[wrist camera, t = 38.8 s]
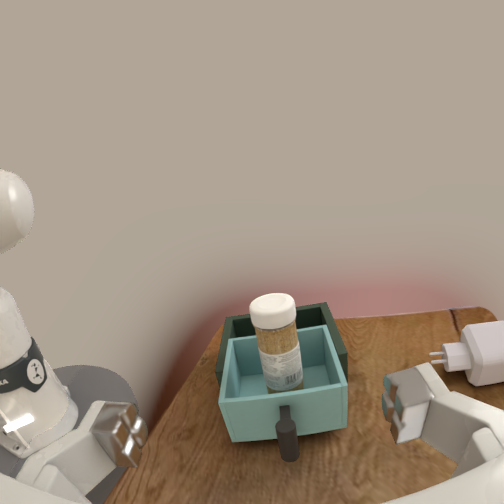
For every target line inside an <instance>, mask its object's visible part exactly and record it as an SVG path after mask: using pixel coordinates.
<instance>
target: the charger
mask: <svg viewBox="0 0 504 504" xmlns="http://www.w3.org/2000/svg"><path fill="white" fill-rule="evenodd" d="M437 355H442V360H433V361H431V364H438V363H443V364H444V368H445V370H446V371H447V372H452V371H460V370H465V373H466V376H467V379H468V381H469V382H470V383H472V384H473V385H475V386H482V385H488V384H494V383H499V382H504V320H503V321H495V322H488V323H480V324H471V325H466V326H465V328H464V329H463V330H462V332H461V338H460V342H458V343H448V344H442V345H441V352H433V353H429V356H437Z"/></svg>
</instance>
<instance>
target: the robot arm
mask: <svg viewBox="0 0 504 504" xmlns="http://www.w3.org/2000/svg"><path fill="white" fill-rule="evenodd" d="M33 219H34V203H33V198H32V195H31V192H30V190H29V188H28V186H27V185H26V183H25V182H24V181H23V180H22V179H21V178H20V177H19V176H18V175H17V174H15V173H13V172H10V171H6V170H3V169H1V168H0V254H2V253H4V252H6V251H7V250H9V249H10V248H12V247H14V246H15V245H17V244H18V243H20V242H21V241H23V240H24V239H26V238H27V237H28V235H29V233H30V230H31V228H32V224H33ZM383 385H384V387H385V389H386V390H385V391H384V393H383V394H382V409H383V413H384V416H385V419H386V421H388V422H390V423H391V428H390V431H391V434H392V436H393V438H394V441H395V443H396V445H397V444H401V443H404V442H408V441H411V440H415V439H418V438H421V440H423V441H424V442H426V443H427V444H429V445H430V446H432V447H433V448H435V449H436V450H438V451H439V452H441V453H442V454H444V455H445V456H447V457H448V458H450V459H451V460H453V461H454V462H456V463H457V464H458V465H457V467H456V469H455V471H454V473H453V475H452V476H451V478H450V480H447V481H445V482H442V483H440V484H437V485H435V486H432V487H430V488H427V489H424V490H421V491H419V492H416V493H413V494H410V495H407V496H404V497H401V498H397V499H394V500H391V501H387V502H384V503H380V504H504V410H501V409H498V408H496V407H493V406H491V405H488V404H485V403H483V402H480V401H478V400H475V399H473V398H470V397H468V396H465V395H463V394H460V393H458V392H455V391H453V392H450V391H449V390H448V388H447V387H446V385H445V384H444V382H443V381H442V380H441V378H440V377H439V375H438V374H437V373H436V371H435V370H434V368H433V367H432V366H431V364H430V363H428V362H427V363H424V364H421V365H417V366H414V367H411V368H408V369H404V370H401V371H397V372H393V373H390V374H386V375H385V377H384V382H383ZM137 414H138V409H137V407H136V405H135V404H133V403H127V402H112V401H95V402H93V403H92V405H91V407H90V408H89V410H88V412H87V413H86V415H85V417H84V418H83V420H82V422H81V423H80V425H79V427H78V428H77V430H72V429H73V427H74V426H75V424H76V421H77V419H78V407H77V405H76V403H75V402H74V401H73V400H72V399H71V397H70V391H69V389H68V388H67V387H66V386H63V385H62V384H61V382H60V381H59V379H58V378H57V376H56V375H55V373H54V372H53V370H52V369H51V367H50V366H49V364H48V363H47V361H46V360H43V356H42V354H41V352H40V349H39V347H38V345H37V344H36V342H35V340H34V339H33V338H32V337H30V335H29V333H28V331H27V328H26V326H25V324H24V321H23V319H22V316H21V314H20V311H19V309H18V306H17V304H16V301H15V299H14V298H13V297H12V296H11V294H10V293H9V292H8V291H7V290H5V289H3V288H2V287H0V445H1V446H3V447H4V448H5V449H7V450H8V451H10V452H11V453H12V454H14V455H15V456H17V457H18V458H20V459H24V458H26V457H28V456H29V457H28V458H27V460H26V462H25V463H24V465H23V467H22V468H21V470H20V472H19V473H18V475H17V476H16V478H15V479H13V478H11V477H9V476H6V475H4V474H2V473H0V504H92V503H91V502H90V501H89V500H88V499H87V498H86V497H85V495H86V494H87V493H88V492H89V491H91V490H92V489H93V488H94V487H95V486H96V485H97V484H98V483H99V482H100V481H102V480H103V479H104V478H105V477H106V476H107V475H108V474H109V473H110V472H111V471H112V470H113V469H115V468H116V466H125V467H135V468H137V467H138V464H139V461H140V458H141V455H142V452H141V450H140V448H141V447H143V446H144V445H145V444H146V441H147V436H148V430H147V427H146V424H145V422H144V420H143V419H142V418H140V417H139V416H138V415H137ZM71 430H72V431H71ZM36 451H38V452H36ZM34 452H36V453H34ZM33 453H34V454H33ZM31 454H33V455H31ZM30 455H31V456H30Z"/></svg>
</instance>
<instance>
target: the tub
mask: <svg viewBox="0 0 504 504" xmlns="http://www.w3.org/2000/svg"><path fill="white" fill-rule="evenodd" d="M297 336H298V341H299V346H300V354H301V363H302V372H303V388H304V389H303V390H296V391H290V392H282V393H275V394H268V391H267V386H266V383H265V379H264V375H263V370H262V365H261V360H260V355H259V350H258V342H257V337H256V335H255V336H247V337H239V338H231V339H228V345H227V351H226V357H225V363H224V370H223V376H222V382H221V388H220V394H219V401H218V404H219V407H220V410H221V413H222V415H223V418H224V421H225V424H226V427H227V430H228V432H229V435H230V438H231V441H232V442H244V441H257V440H268V439H278V443H279V448H280V453H281V458H282V459H283V460H284V461H286V462H293V461H295V460H297V459H298V458H299V455H300V453H299V446H298V438H297V436H300V435H307V434H313V433H319V432H325V431H330V430H336V429H341V428H346V427H347V406H348V384H347V382H346V379H345V376H344V373H343V370H342V367H341V364H340V361H339V358H338V356H337V353H336V350H335V347H334V344H333V341H332V339H331V336H330V333H329V330H328V328H327V325H320V326H315V327H309V328H303V329H297Z"/></svg>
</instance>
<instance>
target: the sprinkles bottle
mask: <svg viewBox="0 0 504 504" xmlns="http://www.w3.org/2000/svg"><path fill="white" fill-rule="evenodd" d="M249 310H250V316H251V321H252V324H253V326H254V327H255V332H256V337H257V342H258V350H259V355H260V360H261V365H262V370H263V375H264V379H265V383H266V386H267V391H268V394H275V393H282V392H290V391H296V390H303V389H304V388H303V372H302V363H301V354H300V346H299V341H298V336H297V329H296V323H295V320H296V308H295V302H294V299H293V298H292V297H291V296H289V295H287V294H282V293H272V294H267V295H263V296H260V297H258V298H256V299H255V300H254V301H252V303H251V304H250V307H249Z"/></svg>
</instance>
